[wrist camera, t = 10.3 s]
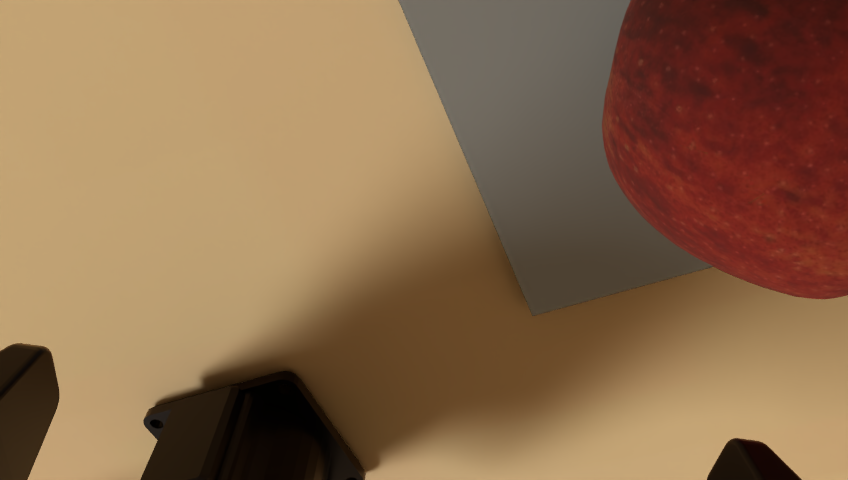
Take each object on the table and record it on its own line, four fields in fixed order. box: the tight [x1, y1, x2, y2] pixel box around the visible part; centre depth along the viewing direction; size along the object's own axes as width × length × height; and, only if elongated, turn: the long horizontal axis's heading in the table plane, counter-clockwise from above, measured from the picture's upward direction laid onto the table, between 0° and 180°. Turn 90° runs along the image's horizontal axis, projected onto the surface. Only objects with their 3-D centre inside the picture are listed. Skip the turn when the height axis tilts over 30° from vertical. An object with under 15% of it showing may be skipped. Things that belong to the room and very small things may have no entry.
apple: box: [602, 0, 848, 299], centre depth 14 cm, size 7×8×8 cm
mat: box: [399, 0, 714, 316], centre depth 18 cm, size 14×14×1 cm
